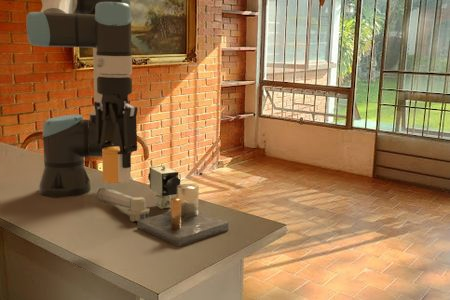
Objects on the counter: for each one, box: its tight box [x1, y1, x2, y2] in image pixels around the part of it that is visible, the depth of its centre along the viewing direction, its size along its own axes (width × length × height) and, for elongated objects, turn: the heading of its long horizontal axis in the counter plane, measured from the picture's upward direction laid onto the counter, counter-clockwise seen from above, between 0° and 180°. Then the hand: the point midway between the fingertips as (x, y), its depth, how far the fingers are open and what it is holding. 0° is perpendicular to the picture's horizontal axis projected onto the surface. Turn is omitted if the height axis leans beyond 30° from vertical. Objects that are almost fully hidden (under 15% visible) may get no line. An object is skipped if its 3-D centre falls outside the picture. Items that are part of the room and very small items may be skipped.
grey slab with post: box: [136, 183, 229, 247], centre depth 122 cm, size 16×16×9 cm
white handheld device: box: [96, 187, 151, 223], centre depth 135 cm, size 5×7×25 cm
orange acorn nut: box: [101, 146, 125, 184], centre depth 111 cm, size 6×6×7 cm
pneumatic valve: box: [147, 165, 181, 210], centre depth 139 cm, size 6×12×12 cm, turn 32°
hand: (116, 178), depth 112 cm, fingers closed on orange acorn nut, 6 cm apart
